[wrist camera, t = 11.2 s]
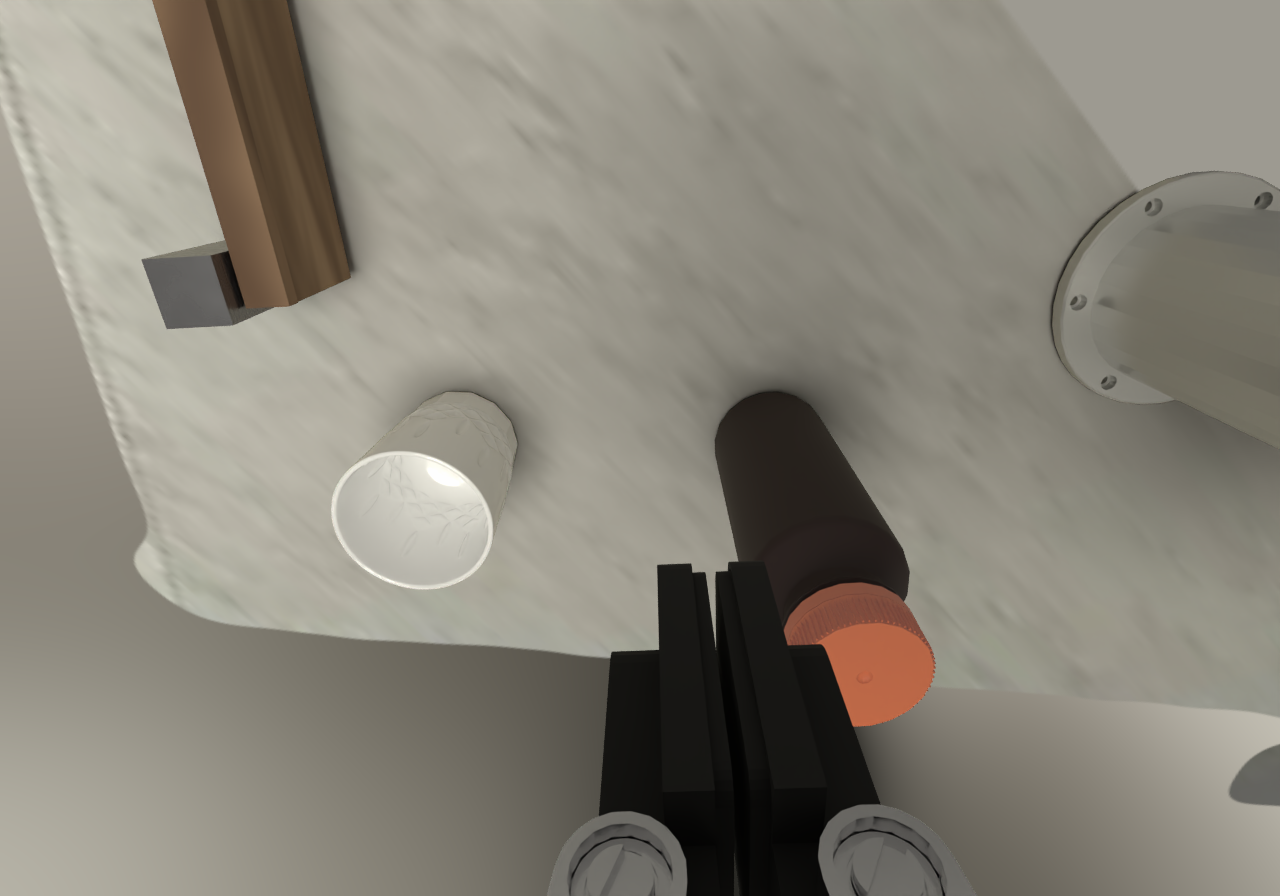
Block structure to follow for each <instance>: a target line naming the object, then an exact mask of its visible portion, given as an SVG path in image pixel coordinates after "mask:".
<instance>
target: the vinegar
mask: <svg viewBox="0 0 1280 896" xmlns="http://www.w3.org/2000/svg"><path fill="white" fill-rule="evenodd" d="M715 456H716V460H717V465H718V469H719V474H720V479H721V483H722V488H723V492H724V497H725V501H726V506H727V511H728V515H729V520H730V524H731V529H732V533H733V538H734V543H735V547H736V552H737V556H738V561H764V563H765V565H766V569H767V573H768V576H769V580H770V583H771V587H772V590H773V594H774V598H775V601H776V605H777V608H778V612H779V616H780V619H781V623H782V626H783V630H784V633H785V637H786V641H787V644H788V645H810V644H822V645H823V646H824V648H825V650H826V652H827V654H828V657H829V660H830V662H831V665H832V668H833V671H834V674H835V677H836V679H837V682H838V685H839V688H840V691H841V694H842V696H843V699H844V702H845V705H846V708H847V711H848V713H849V716H850V719H851V722H852V725H853V727H854V726H858V727H859V726H869V725H870V726H871V725H874V724H878V723H883V722H885V721H889V720H892V719H894V718H895V717H897V716H899V715H901V714H904V713H905V712H906V711H908V710H909V709H911V708H912V707H914V705H915V704H916V703H918V701H919V700H921V698H922V697H923V696H925V693H926V691H928V690H927V689H928V687H931V686H930V684H931V683H932V682H933V681H932V678H934V676H933V673H935V671H934V669H935V668H936V667H935V666H934V664H936V663H935V661H934V659H935V658H934V656H933V655H934V653H933V652H932V649H931V647H930V645H929V643H928V641H927V640H926V638H925V636H924V634H923V632H922V631H921V629H920V627H919V625H918V624H917V621H916V620H915V618H914V616H913V614H912V612H911V611H910V609H909V608H908V606H907V605H906V604H905V603H904V600H905V598H906V596H907V592H908V583H909V572H910V571H909V568H908V564H907V561H906V558H905V554H904V551H903V549H902V547H901V545H900V544H899V542H898V541H897V539H896V537H895V536H894V534H893V533H892V531H891V529H890V528H889V526H888V525H887V523H886V522H885V520H884V518H883V517H882V515H881V514H880V512H879V510H878V509H877V507H876V506H875V504H874V503H873V501H872V499H871V498H870V496H869V495H868V493H867V491H866V490H865V488H864V487H863V485H862V484H861V482H860V480H859V479H858V477H857V476H856V474H855V472H854V471H853V469H852V468H851V466H850V465H849V463H848V461H847V460H846V458H845V457H844V455H843V453H842V452H841V450H840V449H839V447H838V446H837V444H836V442H835V441H834V439H833V438H832V436H831V434H830V433H829V431H828V430H827V428H826V427H825V425H824V423H823V422H822V420H821V419H820V417H819V416H818V415H817V413H816V412H815V411H814V410H813V408H812V407H811V406H810V405H809V404H807V403H806V402H804V401H802V400H801V399H799V398H797V397H796V396H792V395H788V394H784V393H779V392H772V393H760V394H757V395H755V396H752V397H749V398H747V399H744V400H743V401H741V402H740V403H739V404H737V405H736V406H735V407H733V408H732V409H731V410H730V411H729V412H728V413H727V415H726V416H725V418H724V419H723V420H722V422H721V423H720V425H719V429H718V432H717V435H716V438H715Z"/></svg>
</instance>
